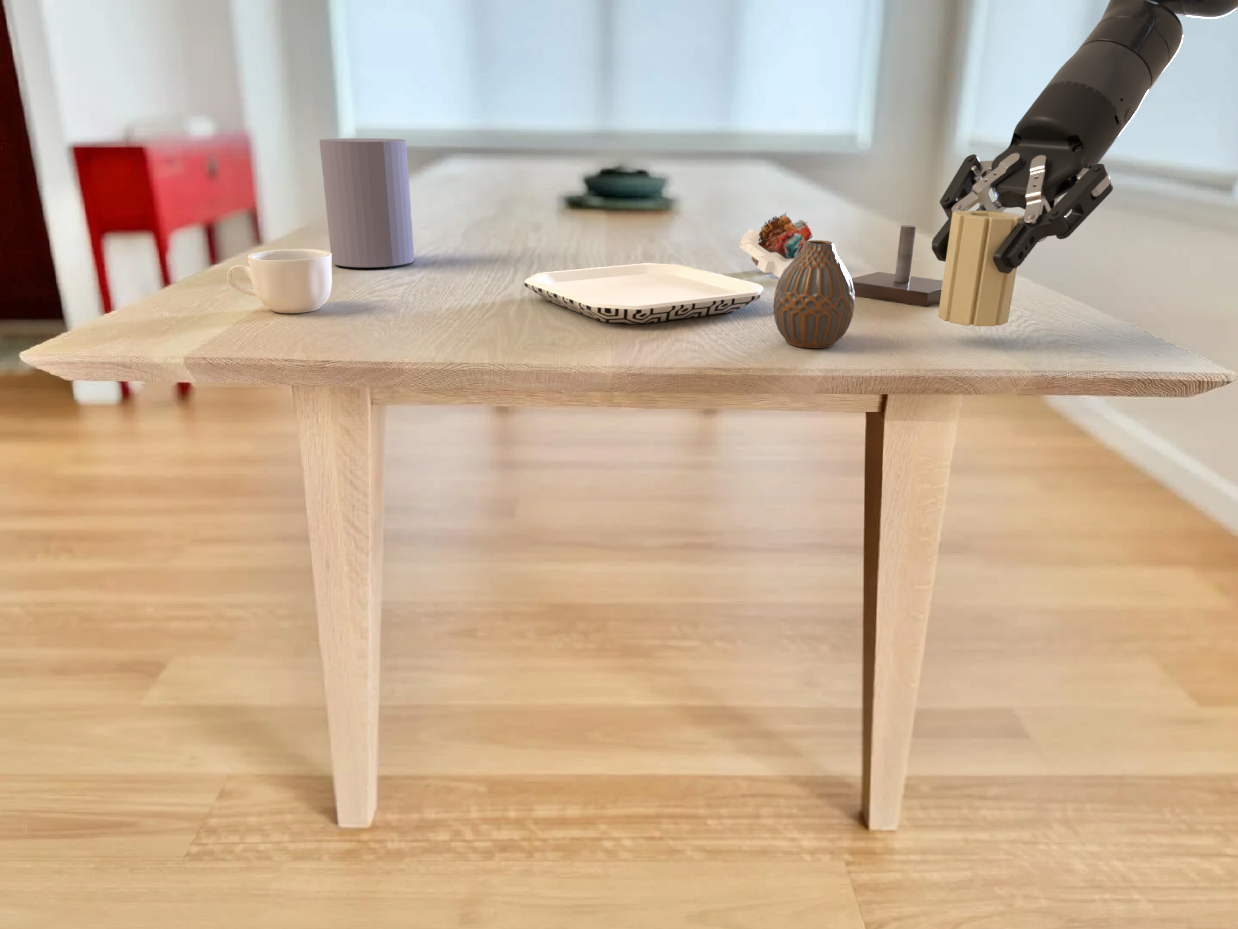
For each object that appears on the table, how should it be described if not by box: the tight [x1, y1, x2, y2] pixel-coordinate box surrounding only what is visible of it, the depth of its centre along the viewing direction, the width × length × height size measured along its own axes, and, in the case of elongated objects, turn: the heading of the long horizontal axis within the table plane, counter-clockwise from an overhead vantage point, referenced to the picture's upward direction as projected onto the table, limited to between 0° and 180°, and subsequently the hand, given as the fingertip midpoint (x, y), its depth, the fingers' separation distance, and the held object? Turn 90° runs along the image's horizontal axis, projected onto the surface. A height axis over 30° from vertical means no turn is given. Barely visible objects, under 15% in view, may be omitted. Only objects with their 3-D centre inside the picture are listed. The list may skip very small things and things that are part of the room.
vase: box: [773, 239, 856, 349], centre depth 80 cm, size 7×7×9 cm
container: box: [319, 137, 415, 270], centre depth 116 cm, size 10×10×15 cm
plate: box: [523, 262, 765, 325], centre depth 97 cm, size 21×21×2 cm
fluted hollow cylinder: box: [937, 210, 1024, 327], centre depth 80 cm, size 6×6×9 cm
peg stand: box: [851, 224, 943, 308], centre depth 101 cm, size 10×8×8 cm
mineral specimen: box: [739, 212, 813, 280], centre depth 116 cm, size 12×12×7 cm
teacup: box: [226, 248, 333, 314], centre depth 92 cm, size 10×8×5 cm
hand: (968, 260), depth 79 cm, fingers closed on fluted hollow cylinder, 6 cm apart
